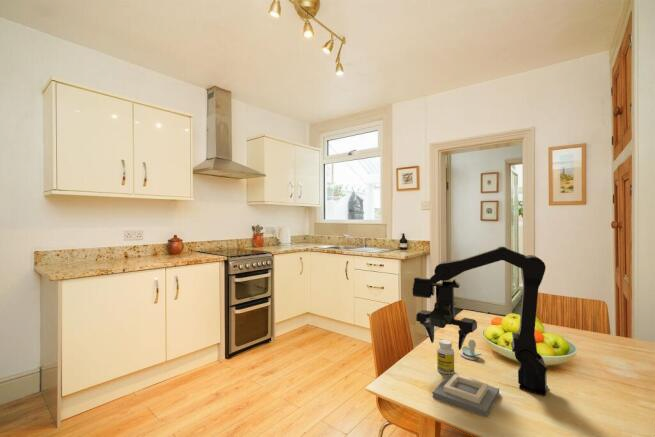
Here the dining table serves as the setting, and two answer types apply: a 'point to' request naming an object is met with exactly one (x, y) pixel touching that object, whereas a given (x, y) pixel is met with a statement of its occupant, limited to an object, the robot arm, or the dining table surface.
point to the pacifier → (470, 350)
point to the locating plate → (467, 394)
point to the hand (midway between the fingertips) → (445, 345)
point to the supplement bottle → (445, 357)
